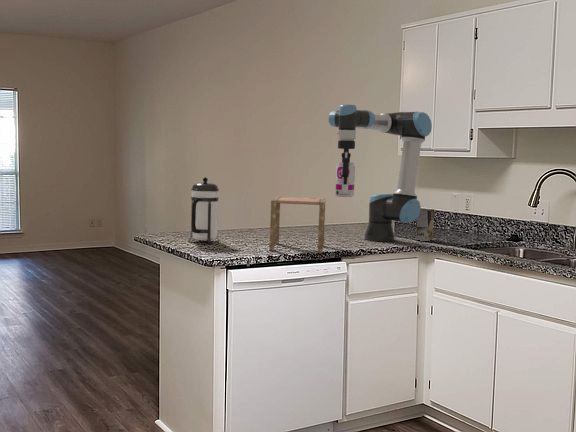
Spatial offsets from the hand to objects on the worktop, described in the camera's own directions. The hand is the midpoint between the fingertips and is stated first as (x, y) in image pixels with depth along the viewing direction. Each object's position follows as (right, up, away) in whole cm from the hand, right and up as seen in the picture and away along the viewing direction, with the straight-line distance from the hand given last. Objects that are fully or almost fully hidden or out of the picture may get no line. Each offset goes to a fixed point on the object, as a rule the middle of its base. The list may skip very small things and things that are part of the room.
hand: (344, 191), depth 308 cm
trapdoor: (-20, -6, +2) cm, 21 cm away
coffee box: (+44, -24, +44) cm, 67 cm away
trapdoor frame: (-21, -26, +4) cm, 33 cm away
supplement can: (0, -3, 0) cm, 3 cm away
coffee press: (-64, -24, +12) cm, 70 cm away
